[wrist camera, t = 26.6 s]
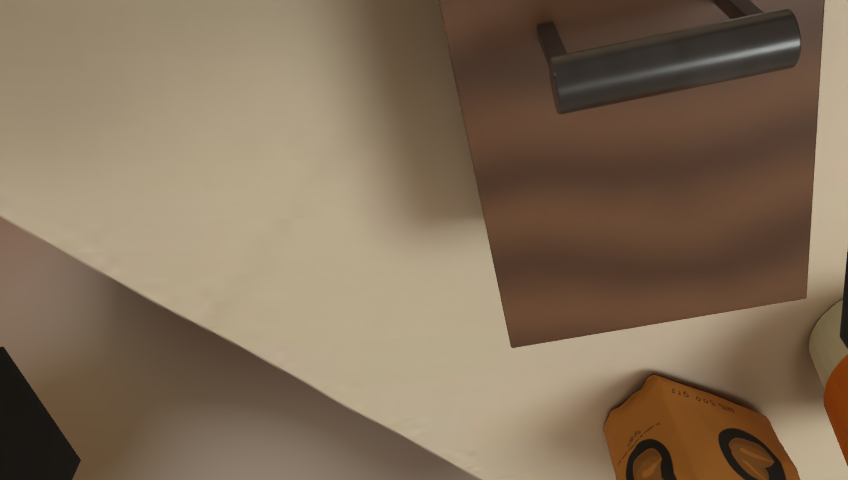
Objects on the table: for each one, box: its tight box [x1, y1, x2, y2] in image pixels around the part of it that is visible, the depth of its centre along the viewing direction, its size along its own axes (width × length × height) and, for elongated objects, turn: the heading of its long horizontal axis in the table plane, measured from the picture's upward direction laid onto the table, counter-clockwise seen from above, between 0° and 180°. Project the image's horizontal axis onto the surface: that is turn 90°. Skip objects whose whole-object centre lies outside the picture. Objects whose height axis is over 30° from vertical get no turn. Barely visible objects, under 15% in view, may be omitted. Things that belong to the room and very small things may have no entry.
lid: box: [439, 0, 825, 348], centre depth 33 cm, size 19×15×7 cm
